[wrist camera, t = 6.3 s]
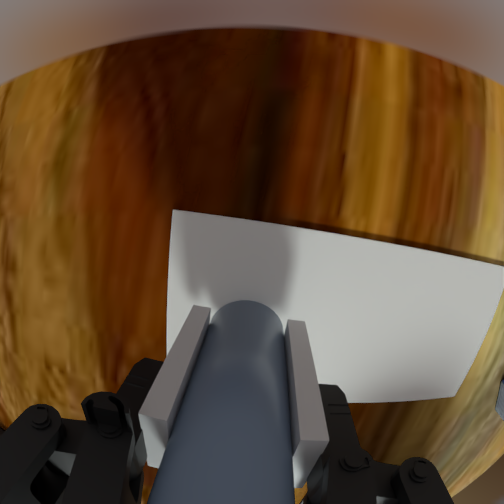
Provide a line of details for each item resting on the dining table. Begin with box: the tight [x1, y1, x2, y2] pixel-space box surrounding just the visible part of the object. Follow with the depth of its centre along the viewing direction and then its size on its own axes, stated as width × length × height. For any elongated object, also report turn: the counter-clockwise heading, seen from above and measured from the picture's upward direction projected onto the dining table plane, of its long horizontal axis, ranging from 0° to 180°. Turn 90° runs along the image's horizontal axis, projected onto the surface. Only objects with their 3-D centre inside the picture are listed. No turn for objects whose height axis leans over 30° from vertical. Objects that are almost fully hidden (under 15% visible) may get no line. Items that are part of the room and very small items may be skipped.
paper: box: [167, 210, 504, 403], centre depth 15 cm, size 20×10×1 cm, turn 82°
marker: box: [147, 300, 295, 504], centre depth 7 cm, size 3×3×12 cm
